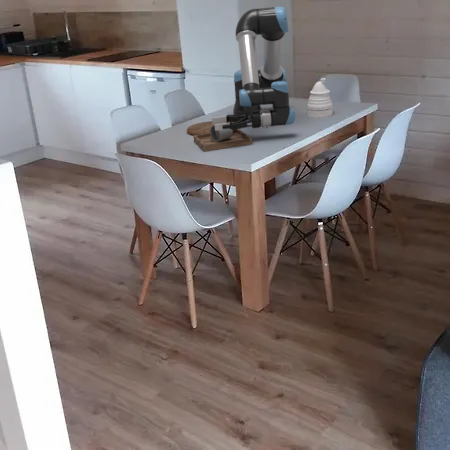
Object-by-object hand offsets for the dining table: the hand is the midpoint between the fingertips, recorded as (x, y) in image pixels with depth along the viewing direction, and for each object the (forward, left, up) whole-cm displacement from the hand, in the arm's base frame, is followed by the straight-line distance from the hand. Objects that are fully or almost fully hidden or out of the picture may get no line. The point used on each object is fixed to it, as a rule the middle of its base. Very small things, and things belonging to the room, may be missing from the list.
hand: (213, 124), depth 283 cm
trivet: (-25, +5, -10) cm, 28 cm away
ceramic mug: (-1, +3, -8) cm, 8 cm away
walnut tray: (+1, +3, -9) cm, 10 cm away
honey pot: (-24, +62, -9) cm, 68 cm away
